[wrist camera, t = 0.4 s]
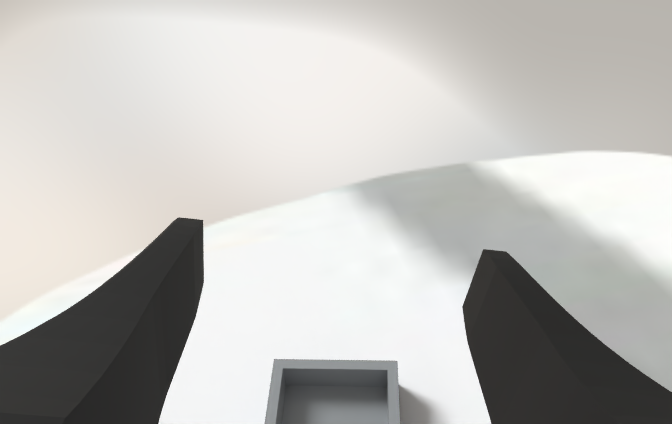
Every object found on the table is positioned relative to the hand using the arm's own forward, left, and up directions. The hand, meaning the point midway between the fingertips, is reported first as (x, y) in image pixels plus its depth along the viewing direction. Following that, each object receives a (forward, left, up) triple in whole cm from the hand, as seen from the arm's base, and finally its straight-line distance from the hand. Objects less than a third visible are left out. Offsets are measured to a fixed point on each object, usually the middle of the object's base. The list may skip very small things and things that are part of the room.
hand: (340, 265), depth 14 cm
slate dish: (+4, +1, -20) cm, 21 cm away
